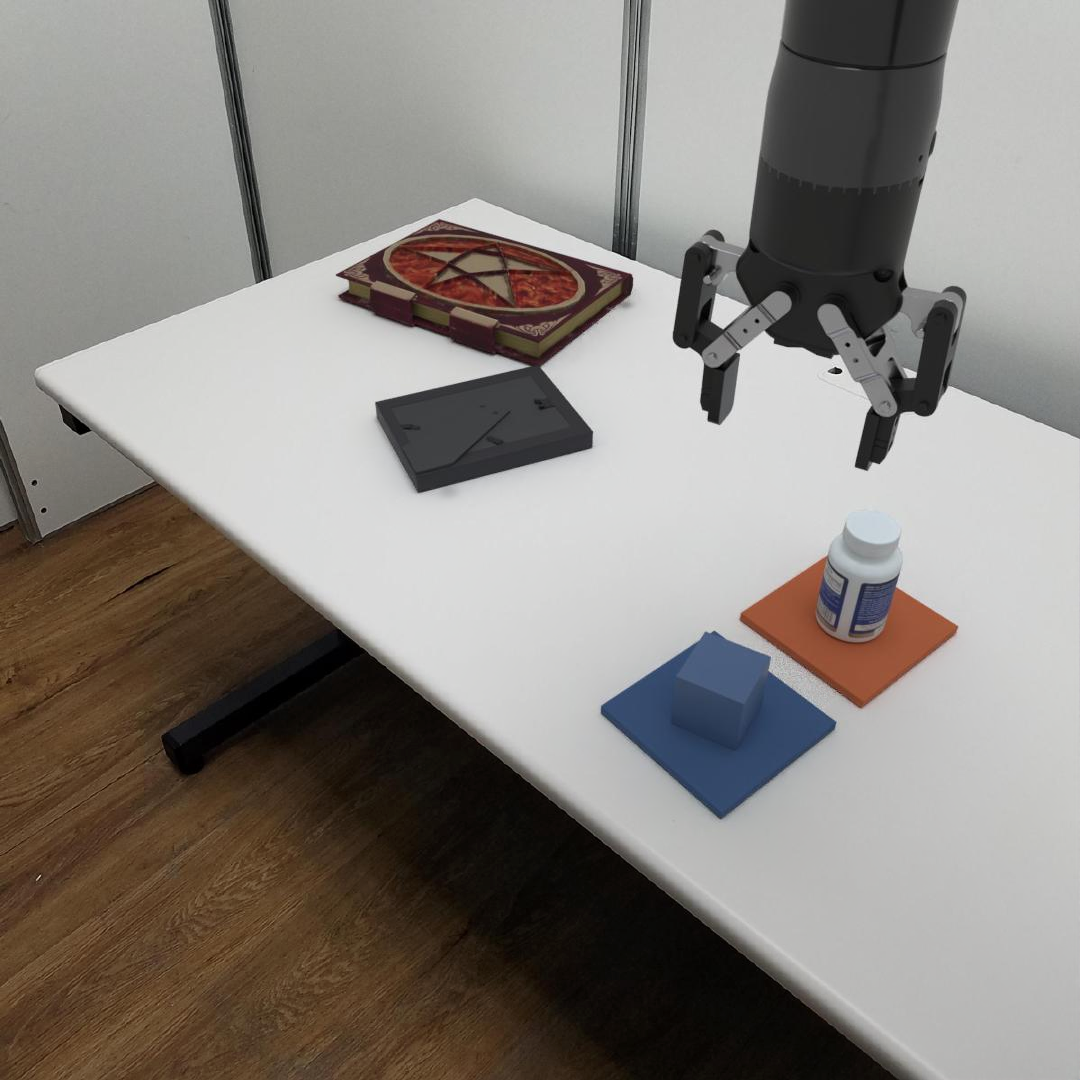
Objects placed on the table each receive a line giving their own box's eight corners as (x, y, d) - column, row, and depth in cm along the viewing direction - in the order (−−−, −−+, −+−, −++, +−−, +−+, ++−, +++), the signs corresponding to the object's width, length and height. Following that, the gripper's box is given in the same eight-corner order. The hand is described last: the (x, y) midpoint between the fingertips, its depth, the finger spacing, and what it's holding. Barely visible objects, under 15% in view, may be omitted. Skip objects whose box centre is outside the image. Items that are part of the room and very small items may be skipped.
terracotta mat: (956, 633, 84) (958, 626, 83) (861, 708, 78) (863, 701, 78) (834, 556, 91) (836, 548, 91) (739, 619, 85) (740, 612, 85)
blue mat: (835, 729, 77) (837, 721, 76) (720, 819, 71) (721, 812, 71) (713, 637, 84) (714, 629, 83) (600, 712, 78) (600, 705, 78)
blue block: (762, 703, 78) (771, 656, 74) (735, 751, 74) (744, 704, 71) (699, 677, 80) (705, 630, 76) (670, 723, 76) (675, 676, 73)
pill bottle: (890, 608, 85) (917, 514, 79) (876, 653, 81) (904, 558, 75) (822, 589, 87) (844, 495, 80) (806, 632, 83) (828, 537, 77)
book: (632, 297, 127) (634, 258, 124) (534, 372, 114) (535, 330, 110) (442, 241, 139) (440, 204, 136) (334, 302, 126) (329, 263, 122)
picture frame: (417, 493, 98) (592, 447, 103) (415, 473, 96) (593, 428, 102) (376, 418, 107) (538, 379, 112) (374, 399, 106) (538, 361, 111)
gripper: (667, 146, 49) (646, 436, 60) (983, 210, 43) (898, 517, 54) (730, 98, 54) (700, 374, 64) (1022, 150, 48) (937, 442, 59)
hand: (791, 439), depth 59 cm, fingers open, 8 cm apart
